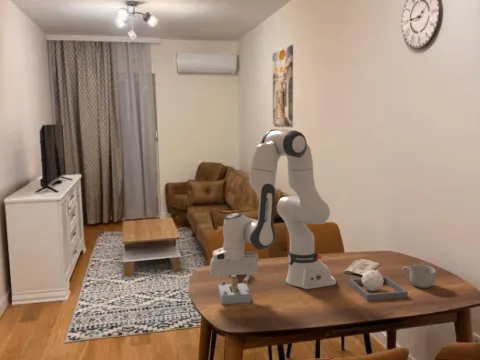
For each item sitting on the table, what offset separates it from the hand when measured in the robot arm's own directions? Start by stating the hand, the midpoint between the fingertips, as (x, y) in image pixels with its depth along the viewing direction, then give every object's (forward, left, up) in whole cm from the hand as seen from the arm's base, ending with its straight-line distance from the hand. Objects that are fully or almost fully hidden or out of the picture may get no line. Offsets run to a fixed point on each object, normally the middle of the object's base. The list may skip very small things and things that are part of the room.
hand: (234, 284), depth 183 cm
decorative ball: (-60, +2, -6) cm, 60 cm away
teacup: (-83, +1, -6) cm, 83 cm away
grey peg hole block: (0, 0, -6) cm, 6 cm away
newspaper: (-67, -24, -6) cm, 71 cm away
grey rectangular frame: (-62, +4, -6) cm, 62 cm away
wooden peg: (0, 0, -5) cm, 5 cm away
